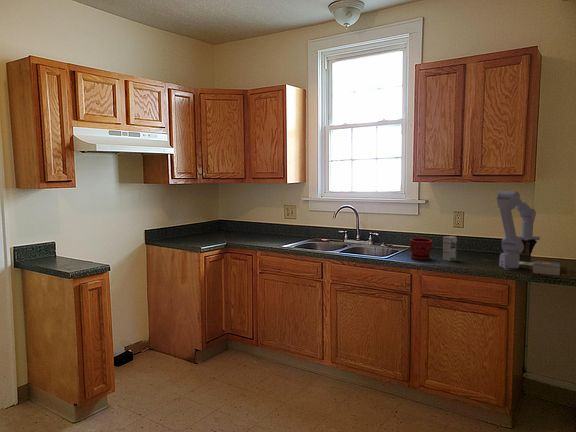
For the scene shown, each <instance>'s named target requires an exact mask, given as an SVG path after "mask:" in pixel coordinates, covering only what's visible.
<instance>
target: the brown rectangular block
mask: <svg viewBox="0 0 576 432" xmlns="http://www.w3.org/2000/svg"><path fill="white" fill-rule="evenodd" d="M529 245H530V243H528V242H526V244H525V248H524V253H522V255H523V256H527V257H529V256H530V253H529Z"/></svg>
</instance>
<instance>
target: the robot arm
mask: <svg viewBox="0 0 576 432" xmlns="http://www.w3.org/2000/svg"><path fill="white" fill-rule="evenodd" d="M520 195H521V194H520V193H519V192H518V191H517V190H514V191H513V190H512V191H509V190H507V191H506V190H499V191H498V193H497V195H496V197H495V199H496V203H497V208H499V210H500V216H501V220H502V225H503V226H502V227H503V229H504V230H503V231H504V235H505V236H504V237H502V239H501V249H502V251H503V252H501V253H500V255H499V260H498V261H499V262H498V266H499V267H501V269H503V270H505V271H507V270H509V271H510V270H511V271H516V270H517V271H519V270H520V269H519V268H520V264H519V261H520V255H521V254H523V253H524V248H525V244H526V243H530V245H529V254H530V253H531V254H532V253H533V249H534V248H535V246H536V245H537V243H538V241H540V240H541V236H538V235H537V236H536V235H534V222H535V220H536V216H537V212H536V211H537V210H536V209H534V208H532V207H530V205H528V203H527V202H526V201H523V200H522V199H521V198H520V197H521V196H520ZM515 209H516V210H517V211H518V212H519V215H520V218H521V235H520V236H519V235H517V233H516V227H515V223H514V219H513V217H514V216H513V213H512V211H513V210H515Z"/></svg>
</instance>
